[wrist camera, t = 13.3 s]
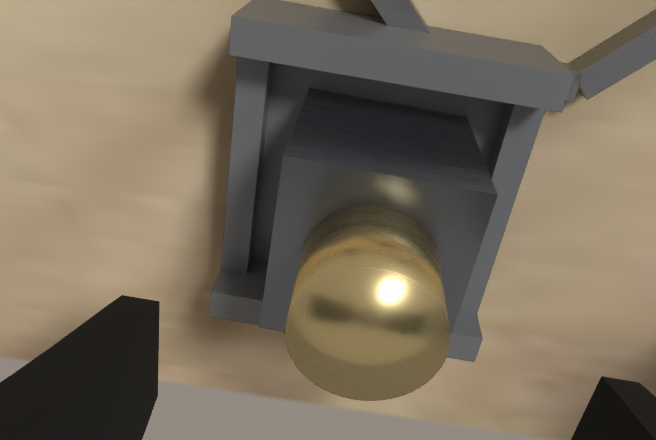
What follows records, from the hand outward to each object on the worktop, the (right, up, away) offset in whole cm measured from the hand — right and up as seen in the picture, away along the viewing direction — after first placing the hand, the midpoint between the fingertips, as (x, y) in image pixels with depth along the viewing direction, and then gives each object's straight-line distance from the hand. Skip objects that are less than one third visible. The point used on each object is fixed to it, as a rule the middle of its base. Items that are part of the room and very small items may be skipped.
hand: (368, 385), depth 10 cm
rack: (+1, +4, +9) cm, 10 cm away
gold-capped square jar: (+1, +4, +8) cm, 9 cm away
